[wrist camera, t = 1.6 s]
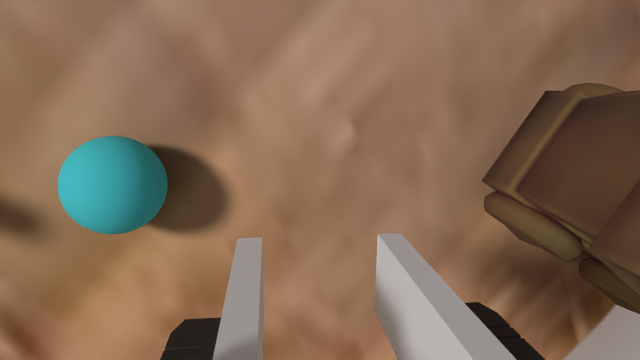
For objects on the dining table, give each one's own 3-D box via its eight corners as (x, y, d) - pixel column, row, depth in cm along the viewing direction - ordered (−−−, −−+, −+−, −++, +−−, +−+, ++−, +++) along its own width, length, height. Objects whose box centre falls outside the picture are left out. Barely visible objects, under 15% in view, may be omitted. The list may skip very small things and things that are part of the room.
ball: (174, 131, 28) (148, 142, 22) (179, 215, 29) (157, 247, 23) (80, 131, 27) (28, 142, 21) (90, 217, 28) (43, 251, 22)
